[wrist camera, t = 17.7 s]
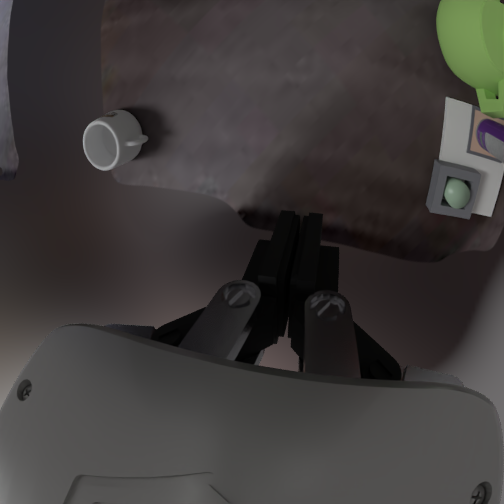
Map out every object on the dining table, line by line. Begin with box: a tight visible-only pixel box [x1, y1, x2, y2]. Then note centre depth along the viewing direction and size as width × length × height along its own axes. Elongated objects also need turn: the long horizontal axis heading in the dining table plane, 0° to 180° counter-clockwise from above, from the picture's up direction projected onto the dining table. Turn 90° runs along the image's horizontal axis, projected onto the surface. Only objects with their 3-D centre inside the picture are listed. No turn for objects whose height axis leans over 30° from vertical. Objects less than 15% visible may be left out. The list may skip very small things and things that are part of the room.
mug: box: [83, 110, 148, 171], centre depth 37 cm, size 12×10×6 cm
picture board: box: [426, 97, 504, 219], centre depth 26 cm, size 16×13×3 cm
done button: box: [443, 176, 470, 209], centre depth 29 cm, size 4×4×3 cm
